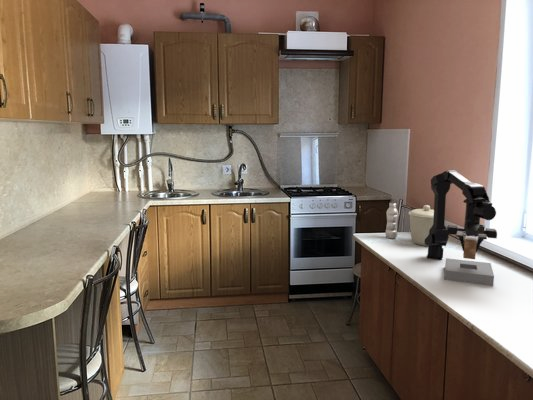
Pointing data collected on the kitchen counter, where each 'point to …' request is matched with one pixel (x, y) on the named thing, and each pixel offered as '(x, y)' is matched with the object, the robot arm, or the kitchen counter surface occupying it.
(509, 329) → the kitchen counter surface
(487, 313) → the kitchen counter surface
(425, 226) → the canister
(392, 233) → the plastic bottle
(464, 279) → the well block
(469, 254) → the walnut post
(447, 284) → the kitchen counter surface
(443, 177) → the robot arm
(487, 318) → the kitchen counter surface
